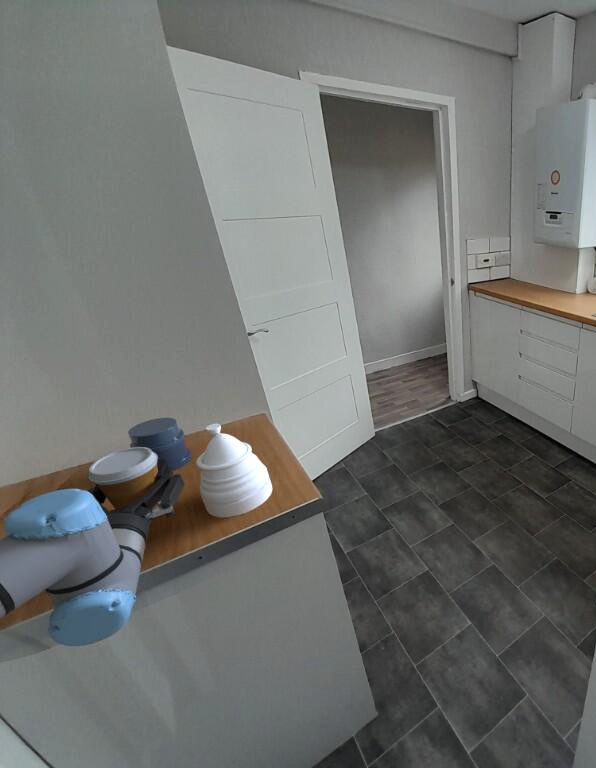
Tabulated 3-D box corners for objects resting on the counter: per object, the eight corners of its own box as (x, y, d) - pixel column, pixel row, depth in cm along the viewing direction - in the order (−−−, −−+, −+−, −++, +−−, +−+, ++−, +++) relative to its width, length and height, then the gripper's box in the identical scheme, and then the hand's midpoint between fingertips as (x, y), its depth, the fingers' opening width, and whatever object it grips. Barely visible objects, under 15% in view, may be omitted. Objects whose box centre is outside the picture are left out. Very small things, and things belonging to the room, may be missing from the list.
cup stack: (132, 479, 98) (115, 440, 93) (152, 456, 107) (137, 419, 102) (183, 472, 101) (169, 433, 96) (198, 450, 110) (186, 414, 106)
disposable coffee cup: (99, 521, 76) (72, 468, 71) (155, 490, 85) (134, 441, 80) (132, 535, 73) (106, 481, 68) (186, 502, 82) (167, 452, 77)
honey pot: (196, 501, 91) (168, 433, 83) (255, 472, 101) (235, 408, 93) (222, 526, 85) (194, 454, 77) (283, 492, 94) (264, 426, 86)
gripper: (26, 596, 59) (70, 505, 76) (203, 538, 70) (206, 470, 87) (1, 557, 56) (52, 472, 73) (190, 503, 67) (196, 440, 84)
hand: (136, 471), depth 80 cm, fingers closed on disposable coffee cup, 8 cm apart
